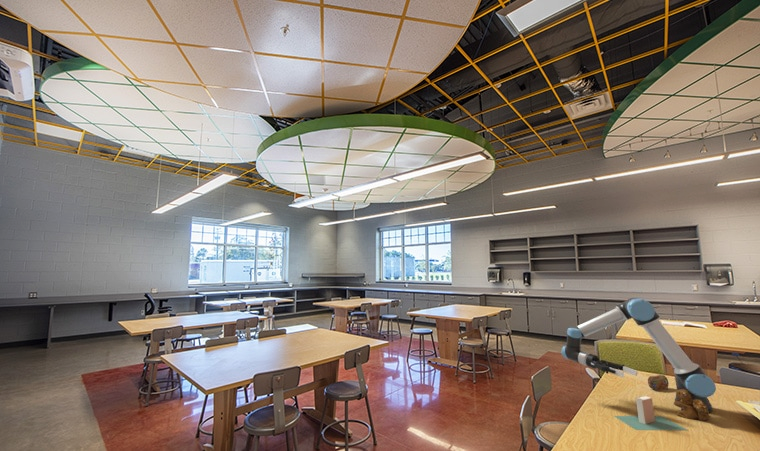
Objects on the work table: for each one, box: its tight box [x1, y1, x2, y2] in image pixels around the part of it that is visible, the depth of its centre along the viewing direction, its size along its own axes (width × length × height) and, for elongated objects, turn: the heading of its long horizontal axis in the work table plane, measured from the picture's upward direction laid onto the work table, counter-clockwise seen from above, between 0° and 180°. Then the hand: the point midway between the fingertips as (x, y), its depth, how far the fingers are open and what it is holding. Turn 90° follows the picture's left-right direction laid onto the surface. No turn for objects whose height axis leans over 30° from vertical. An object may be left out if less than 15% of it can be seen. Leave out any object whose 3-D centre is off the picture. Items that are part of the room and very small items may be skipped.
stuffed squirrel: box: [673, 389, 711, 422], centre depth 165 cm, size 10×14×13 cm
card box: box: [635, 395, 656, 424], centre depth 160 cm, size 8×3×11 cm, turn 112°
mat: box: [613, 415, 688, 431], centre depth 159 cm, size 24×16×1 cm, turn 87°
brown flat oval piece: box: [647, 374, 669, 391], centre depth 207 cm, size 15×3×8 cm, turn 105°
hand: (630, 374), depth 169 cm, fingers open, 13 cm apart
